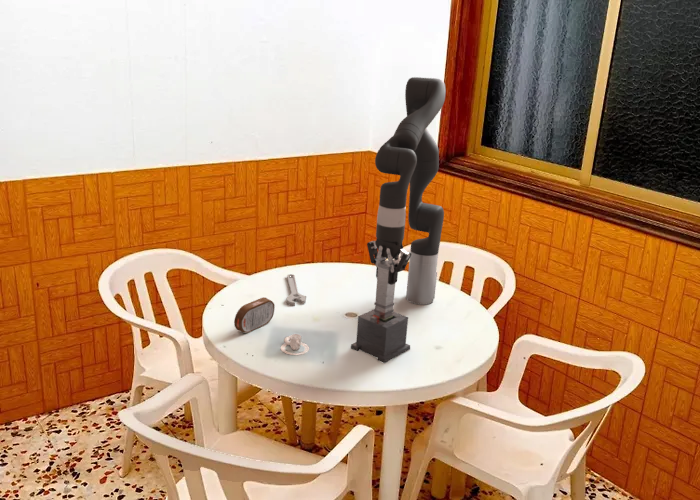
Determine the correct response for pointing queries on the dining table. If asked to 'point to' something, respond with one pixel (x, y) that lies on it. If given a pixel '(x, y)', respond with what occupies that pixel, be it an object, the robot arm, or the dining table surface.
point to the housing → (381, 336)
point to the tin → (254, 315)
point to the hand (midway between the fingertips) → (386, 281)
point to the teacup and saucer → (294, 344)
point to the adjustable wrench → (294, 292)
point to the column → (384, 293)
